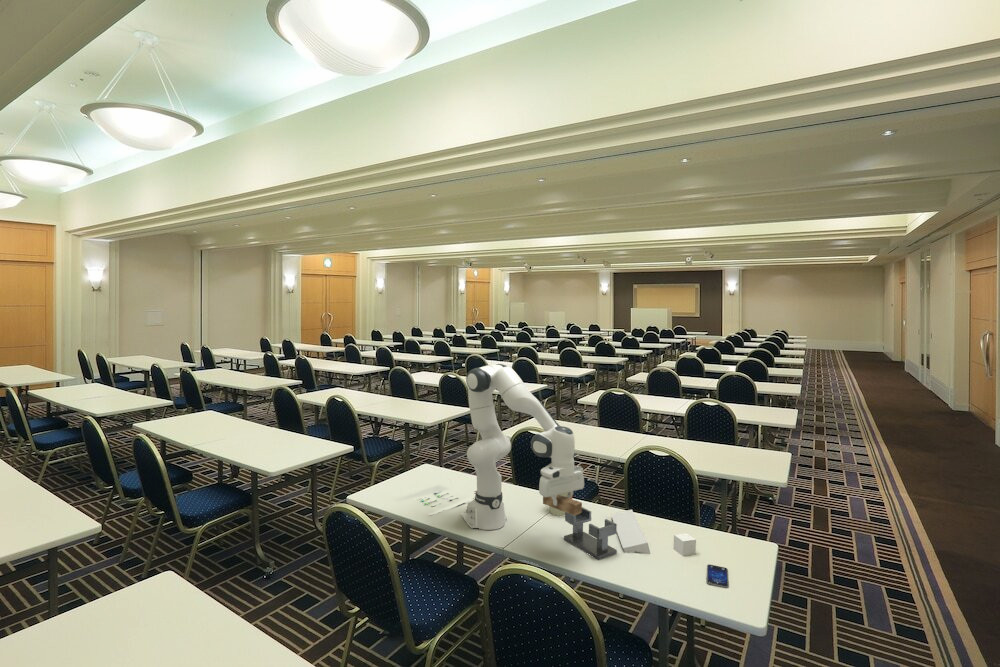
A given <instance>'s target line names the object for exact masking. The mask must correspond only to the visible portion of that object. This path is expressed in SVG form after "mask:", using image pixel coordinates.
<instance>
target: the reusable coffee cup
mask: <svg viewBox="0 0 1000 667" xmlns="http://www.w3.org/2000/svg"><path fill="white" fill-rule="evenodd" d="M567 494H568V492H567V493H563V494H558V495H561V496H564V497H567ZM573 496H574V494H573V495H572V497H571V499H573ZM549 512H550V514H551V513H552V515H553V514H554V515H553V516H557V515H558V517H565V516H564V515H565V512H564V511H561V510H559V509H556V508H553V507H550V506H549Z"/></svg>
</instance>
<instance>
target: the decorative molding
mask: <svg viewBox="0 0 1000 667" xmlns="http://www.w3.org/2000/svg"><path fill="white" fill-rule="evenodd" d="M610 516H611V519H612V522H613V523H615V524H617V528H616V534H617V536H618V538H619V542H620V544H621V546H622V549H623V551H624V553H630V554H631V553H632V554H633V553H634V554H635V553H641V554H651V550H650V546H649V543H648V541H647V539H646V536H645V535H644V534H645V533H644V532H643V530H642V528H641V526H640V524H639V522H638V519H637V518H636V515H635V513H634V511H633V509H628V510H624V511H623V510H622V511H619V512H614V513H611V514H610Z"/></svg>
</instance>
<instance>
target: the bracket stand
mask: <svg viewBox="0 0 1000 667" xmlns="http://www.w3.org/2000/svg"><path fill="white" fill-rule="evenodd" d="M591 521H592V511H591V510H589V509H587V508H586V507H583V506H582V513H580V514H578V515H576V516H575V515H572V514H569V513H567V512H565V516H564V522H567V523H568V524H569V525H572V533H570V534H567V535H566V534H565V535H563V540H564V541H566V542H567V543H569V544H571V545H572V546H574V547H576V548H577V549H579V550H580V551H582V550H583V551H582V552H584V553H586V554H587V553H588V554H587V555H589V554H590V555H589V556H590V557H592V556H593V557H592V558H594V559H596V560H597V561H599V560H603V559H604V558H608V557H611V556H614V555H616V554H617V552H618V550H617V549H616V548H615V547H612V546H610V545H609V537H611V536H614V535H617V530H616V528H617V524H615V523H614V522H613V521H611V520H609V519H607V518H606V519H604V526H603V527H598V526H596V525H595V524H593V523H589V524H588V533H587V532H585V531H584V524H585V523H588V522H591Z"/></svg>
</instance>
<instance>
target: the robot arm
mask: <svg viewBox="0 0 1000 667" xmlns="http://www.w3.org/2000/svg"><path fill="white" fill-rule="evenodd" d="M465 382H466V385H467V388H468V393H467V395H468V397H467V398H468V406H469V411H470V418H471V419H470V420H471V424H472V427H473V428H474V429H475V430H477V431H478V433H479V434H480V437H481V439H480V440H477V441H475V442H474V443H473V444H471V445H470V446H469V447H468V449H467V450H466V458H467V460H468V462H469V464H470V465H472V466H473V468H474V470H475V475H476V491H473V492H474V494H475V495H474V498H475V499H474V500H472V501H471V502H469V503H467V505H466V509H465V512H462V513H461V518H462V517H463V518H464V519H463V518H462V519H463V521H464V522H465V521H466V522H467V523H468V524H467V523H466V522H465V523H466V524H467V526H468V525H469V526H470V527H471V528H470V527H469V526H468V527H469V528H470V529H473V528H479V529H478V530H484V531H490V530H491V531H493V530H498V529H501V528H503V527H504V526H505V525H506V524H505V523H506V521H507V520H508V518H507V516H505V515H506V514H505V503H504V502H503V492H502V477H503V476H502V474H501V473H500V472H499V471H498V469H497V466H496V463H497V461H499V460H501V459H504V458H505V457H506V456H507V455H508V454H509V453H510V452H511V449H512V443H511V441H510V439H509V437H508V436H506V435H505V434H504V432H503V431H502V430H501V427H500V426H499V422H498V420H497V419H498V418H497V414H496V410H495V404H494V400H493V393H494V391H498V393H499V395H500V397H501V398H502V400H503V402H504V404H505V405H506V406H507V408H509V409H510V410H511V411H513V412H518V413H522V414H523V413H524V414H527V415H530V416H532V417H533V418H534V419H535V420H536V421H537V423H538V424H539V426H541V428H542V429H543V430H544V431H543V432H542V431H541V432H538V433H536V434H535V435H534V434H533V436H532V437H531V441H530V447H531V450H532V452H533V453H534V454H535V456H537V457H539V458H551V463H549V464H548V465H546V466H545V467H543V468H541V469H540V475H541V476H540V478H539V483H538V484H539V485H538V492H539V494H540V496H542V497H543V496H544V497H550V496H551V497H552V499H553V505H555V506H557V505H559V501H558V500H557V499H556V497H557V495H558V494H563V493H567V492H568V494H567V498H570V499H571V497H572V498H573V496H574V492H576V491H579V490H583V489H584V487H585V477H584V468H583V467H582V466H581V465H576V466H575V459H574V454H575V450H576V449H575V448H576V447H575V446H576V445H575V443H576V442H575V440H576V439H575V435H574V432H573V430H572V429H571V428H569V427H568V426H561V425H560V424H559V423H558V422H557V420H555V418H554V417H553V415H552V414H551V413H550V412H549V411H548V409H547V408H546V406H544V404H543V403H542V401H540V400H539V399H538V398H537V397H536V396H535V395H533V393H532V392H531V391H530V390H529V388H527V386H526V385H525V383H524V381H523V380H522V378H521V377H520V375H518V373H517V372H516V371H515V370H514V369H513V368H512V367H511V366H507V365H506V364H503V363H497V364H487V365H483V366H481V367H475V368H473V369H470V370H469V371H468V373H467V374H466V377H465ZM572 495H573V496H572Z"/></svg>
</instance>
